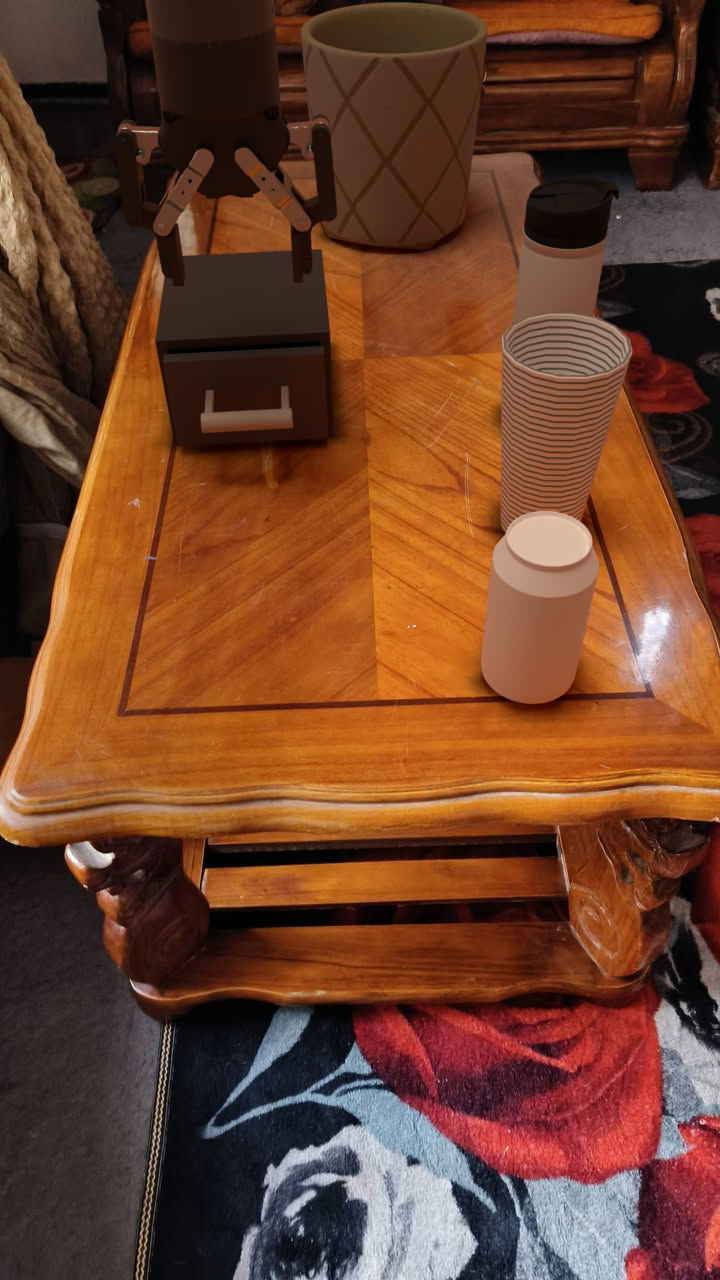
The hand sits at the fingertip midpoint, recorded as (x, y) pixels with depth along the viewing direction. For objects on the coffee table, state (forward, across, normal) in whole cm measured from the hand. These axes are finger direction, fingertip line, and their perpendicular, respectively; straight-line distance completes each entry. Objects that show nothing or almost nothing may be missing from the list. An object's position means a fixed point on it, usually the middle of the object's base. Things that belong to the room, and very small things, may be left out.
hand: (239, 279), depth 69 cm
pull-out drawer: (+15, -1, +6) cm, 16 cm away
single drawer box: (+16, -1, +11) cm, 19 cm away
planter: (+16, +15, +46) cm, 51 cm away
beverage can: (+16, +18, -25) cm, 35 cm away
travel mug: (+16, +25, +4) cm, 30 cm away
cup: (+16, +22, -10) cm, 29 cm away
